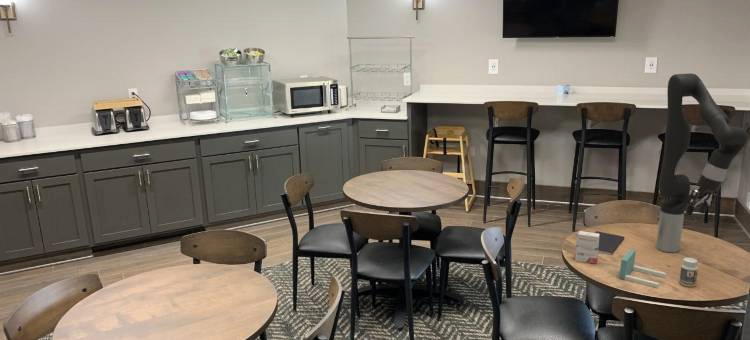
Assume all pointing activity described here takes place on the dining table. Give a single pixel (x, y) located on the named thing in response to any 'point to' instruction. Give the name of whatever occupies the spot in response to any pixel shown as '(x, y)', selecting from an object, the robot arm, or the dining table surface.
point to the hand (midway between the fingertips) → (694, 213)
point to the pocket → (628, 266)
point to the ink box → (587, 247)
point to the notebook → (609, 242)
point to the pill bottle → (688, 272)
